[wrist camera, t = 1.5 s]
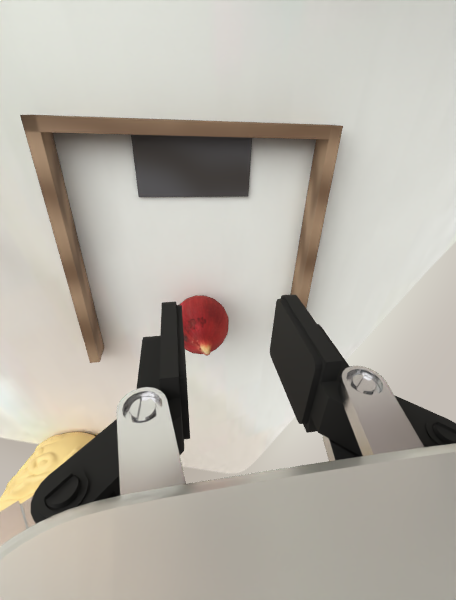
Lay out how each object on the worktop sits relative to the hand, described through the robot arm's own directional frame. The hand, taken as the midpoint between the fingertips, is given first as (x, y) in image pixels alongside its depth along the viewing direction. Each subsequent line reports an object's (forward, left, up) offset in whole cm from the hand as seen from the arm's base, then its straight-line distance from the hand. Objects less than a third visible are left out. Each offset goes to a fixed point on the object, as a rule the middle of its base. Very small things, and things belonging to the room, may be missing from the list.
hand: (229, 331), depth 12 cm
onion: (+11, 0, -19) cm, 22 cm away
